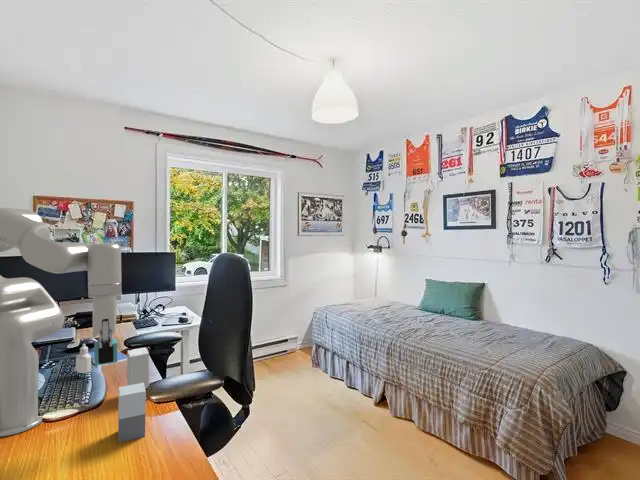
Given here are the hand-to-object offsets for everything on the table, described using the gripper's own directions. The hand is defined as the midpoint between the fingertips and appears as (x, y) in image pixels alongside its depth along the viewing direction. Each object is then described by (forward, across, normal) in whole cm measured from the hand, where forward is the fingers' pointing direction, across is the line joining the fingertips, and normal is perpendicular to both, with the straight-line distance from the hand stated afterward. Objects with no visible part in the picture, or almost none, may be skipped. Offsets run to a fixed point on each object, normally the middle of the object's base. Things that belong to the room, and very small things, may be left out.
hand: (106, 358), depth 92 cm
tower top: (+15, +2, +6) cm, 16 cm away
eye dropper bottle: (+19, -48, -8) cm, 52 cm away
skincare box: (+20, -21, +8) cm, 30 cm away
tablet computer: (+19, -67, -1) cm, 69 cm away
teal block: (+1, 0, 0) cm, 1 cm away
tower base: (+21, +2, +5) cm, 21 cm away
